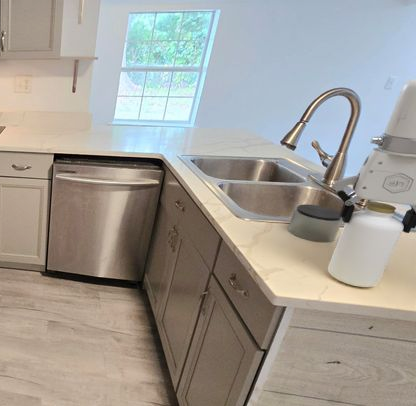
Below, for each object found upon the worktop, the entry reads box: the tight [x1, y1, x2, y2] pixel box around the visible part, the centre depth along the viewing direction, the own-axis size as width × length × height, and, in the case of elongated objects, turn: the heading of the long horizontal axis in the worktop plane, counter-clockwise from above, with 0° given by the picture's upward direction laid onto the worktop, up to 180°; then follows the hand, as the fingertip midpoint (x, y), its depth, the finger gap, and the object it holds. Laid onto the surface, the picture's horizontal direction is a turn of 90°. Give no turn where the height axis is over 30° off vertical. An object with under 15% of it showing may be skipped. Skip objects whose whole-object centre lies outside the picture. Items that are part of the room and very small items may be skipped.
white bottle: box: [327, 201, 404, 288], centre depth 79 cm, size 8×8×18 cm
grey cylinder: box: [287, 204, 343, 243], centre depth 101 cm, size 10×10×7 cm
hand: (373, 225), depth 77 cm, fingers closed on white bottle, 8 cm apart
